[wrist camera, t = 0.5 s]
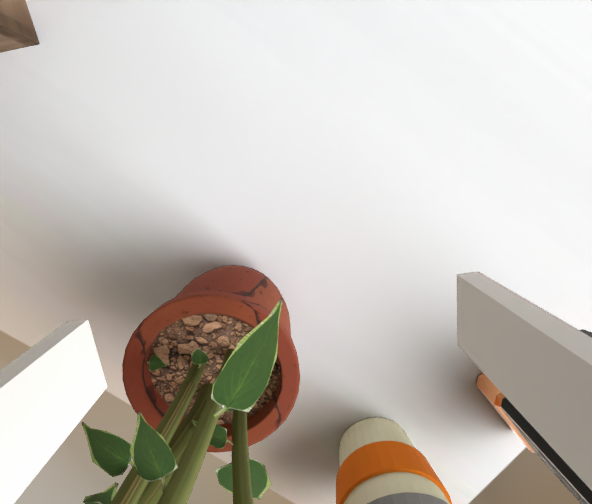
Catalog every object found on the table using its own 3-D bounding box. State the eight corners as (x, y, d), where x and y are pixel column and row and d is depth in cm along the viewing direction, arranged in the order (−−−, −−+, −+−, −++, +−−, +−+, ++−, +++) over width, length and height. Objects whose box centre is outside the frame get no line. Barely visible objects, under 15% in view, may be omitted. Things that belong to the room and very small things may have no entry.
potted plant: (160, 318, 41) (-430, 1025, 7) (230, 205, 38) (-214, 521, 4) (286, 391, 44) (278, 1164, 10) (361, 290, 41) (710, 898, 7)
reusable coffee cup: (348, 500, 48) (374, 646, 34) (308, 428, 45) (318, 553, 31) (436, 465, 47) (502, 600, 32) (401, 389, 44) (456, 500, 30)
